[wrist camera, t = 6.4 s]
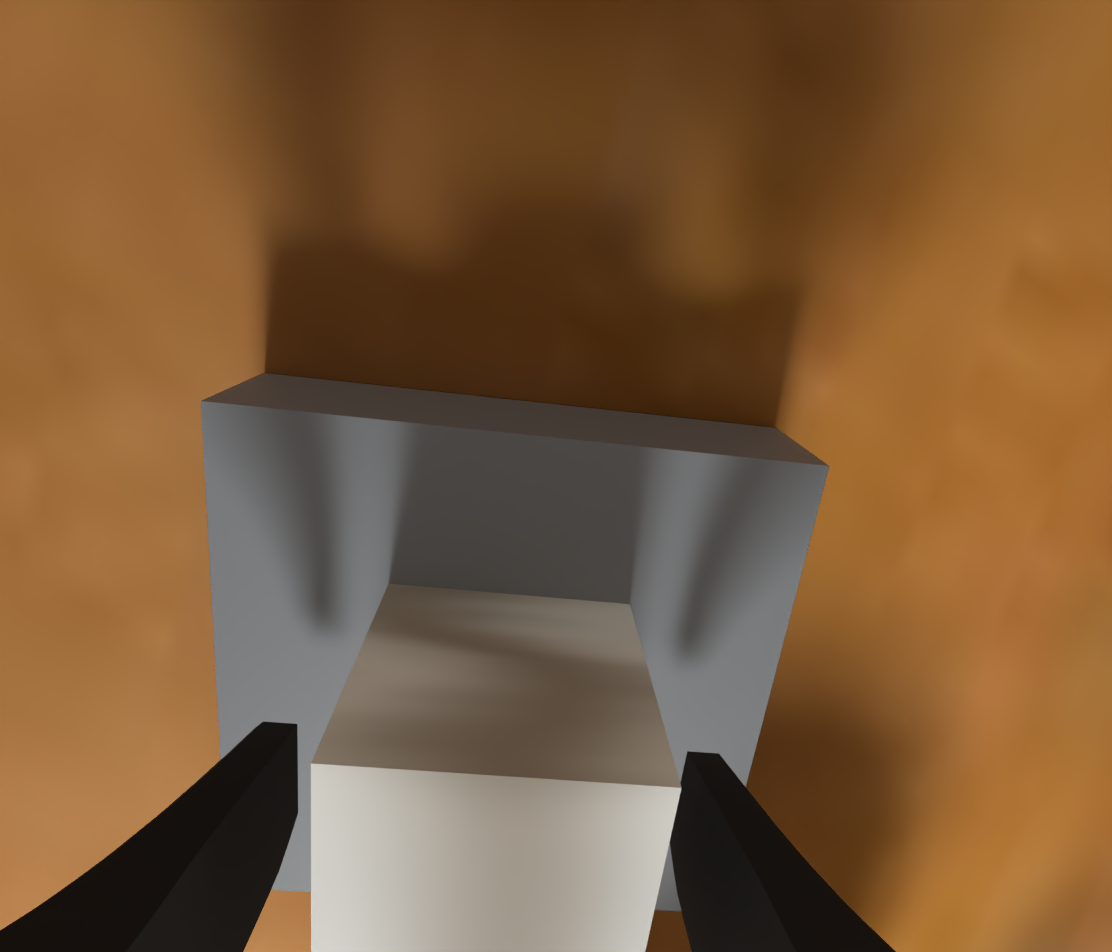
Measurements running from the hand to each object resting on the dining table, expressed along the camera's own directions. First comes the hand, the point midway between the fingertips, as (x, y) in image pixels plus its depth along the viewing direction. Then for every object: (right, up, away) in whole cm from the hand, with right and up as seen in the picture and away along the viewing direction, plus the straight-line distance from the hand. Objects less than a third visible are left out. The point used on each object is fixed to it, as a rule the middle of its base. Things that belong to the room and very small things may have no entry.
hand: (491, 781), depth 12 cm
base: (0, +2, +5) cm, 5 cm away
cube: (0, +1, +2) cm, 2 cm away
